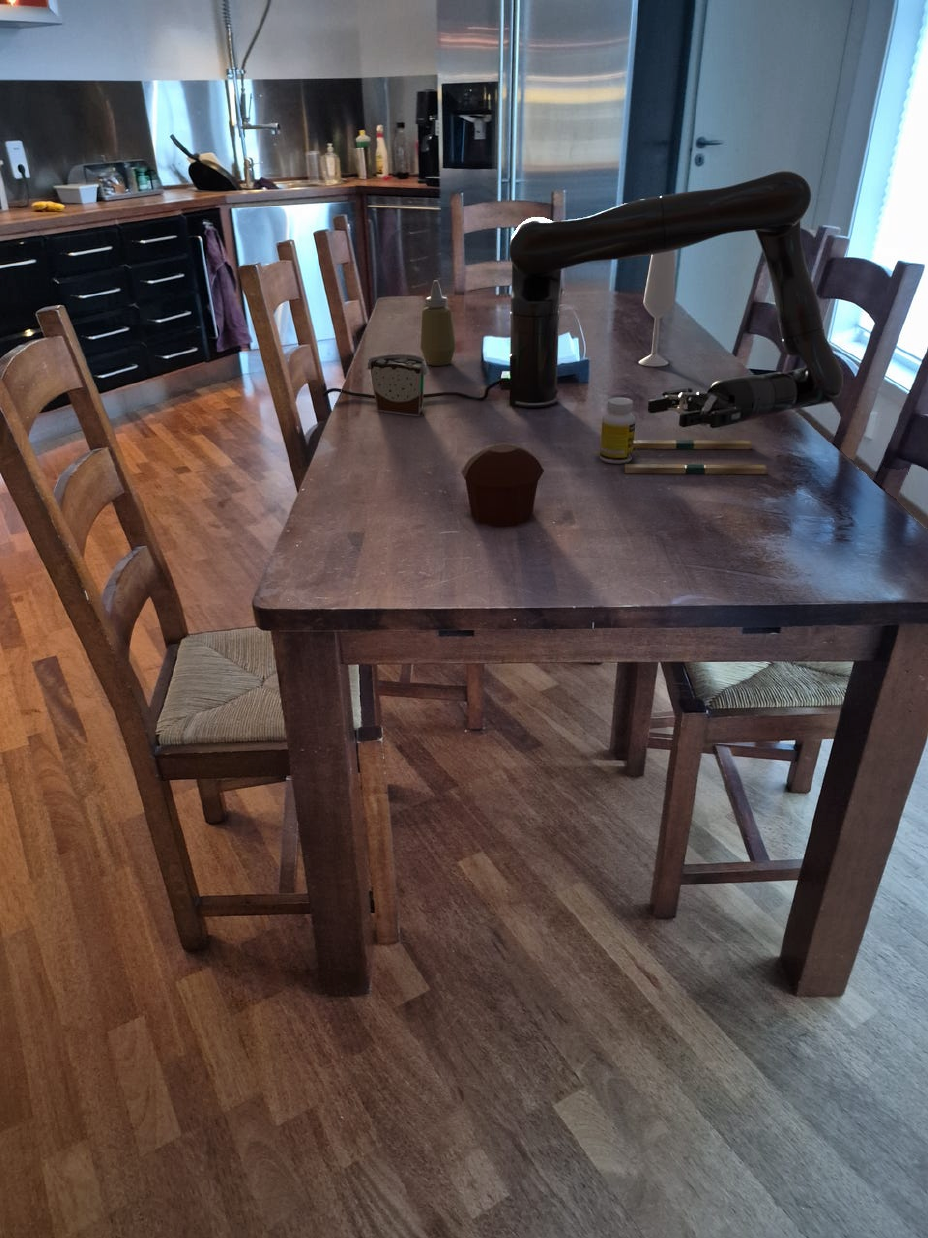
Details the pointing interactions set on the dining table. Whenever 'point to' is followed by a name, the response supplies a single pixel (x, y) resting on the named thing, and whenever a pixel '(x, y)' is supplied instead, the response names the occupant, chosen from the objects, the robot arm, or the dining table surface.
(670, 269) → the champagne flute
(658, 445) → the lane
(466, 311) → the dining table surface
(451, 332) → the squeeze bottle
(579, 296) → the dining table surface
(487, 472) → the muffin
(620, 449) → the supplement bottle
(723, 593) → the dining table surface
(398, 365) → the food container
